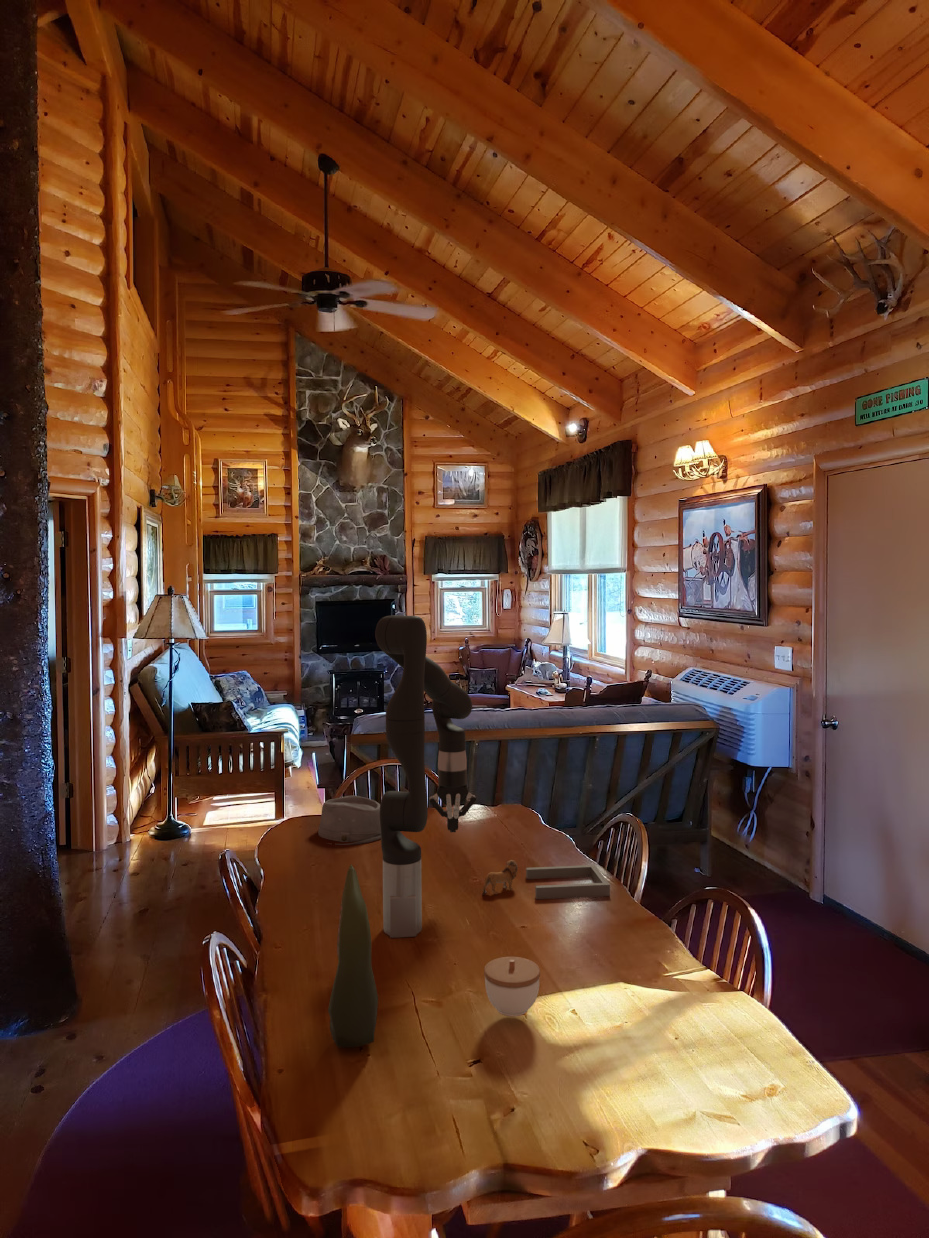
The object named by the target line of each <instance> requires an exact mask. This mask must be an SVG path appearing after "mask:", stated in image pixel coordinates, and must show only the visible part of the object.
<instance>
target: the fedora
mask: <svg viewBox="0 0 929 1238" xmlns="http://www.w3.org/2000/svg"><path fill="white" fill-rule="evenodd" d="M317 833H318V836H319V837H321V838H323V839H326V840H329V841H335V842H336V841H337V842H339V843H336V845H341V846H348V845H349V846H351V845H352V846H353V845H361V844H367V843H372V842H375V841H379V840H381V828H380V803H379V802H377V801H376V800H374V799H371V798H368V797H364V796H360V795H346V796H342V797H336V798H331V799H328V800H326V801H325V802H323V805H322V806H321V815H320V823H319V826H318V831H317ZM327 844H328V845H329V844H330V845H331V843H329V842H328V843H327Z"/></svg>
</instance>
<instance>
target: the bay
mask: <svg viewBox="0 0 929 1238" xmlns="http://www.w3.org/2000/svg"><path fill="white" fill-rule="evenodd" d="M525 869H526V870H525V875H526V876H525V877H526V880H537V879H538V880H541V879H542V880H543V879H559V878H581V877H583V878H584V877H590V878H591V879H592V880H593V882H594V883H593V882H592V883H590V882H589V883H587V882H586V883H570V884H568V883H567V884H566V883H565V884H549V885H548V884H546V885H545V884H544V885H535V891H534V893H535V895H534V896H535V899H536V900H551V899H570V898H571V899H572V898H573V899H574V898H575V899H576V898H592V897H593V898H594V897H610V896H611V884H610V883H609V882H608V880H607V879H606V878H605V876H604V875H603V874H602V872H601V871H600V870H599V868H598V867H597V866H596V864H585V865H565V866H564V865H562V866H561V865H560V866H541V867H540V866H537V867H536V866H535V867H526V868H525Z"/></svg>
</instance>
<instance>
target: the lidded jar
mask: <svg viewBox="0 0 929 1238" xmlns="http://www.w3.org/2000/svg"><path fill="white" fill-rule="evenodd" d="M483 968H484V970H483V972H484V986H485V991H486V995H487V999H488V1000H489V1003H490V1004H491V1006H493V1008H495V1009H496V1011H497V1012H498V1014H501V1015H502V1016H505V1017H511V1018H514V1017H520V1016H523V1015H526V1013H527V1012H528V1010H530V1009H531V1007H532V1006H533V1005H534V1003H536V1000H537V998H538V995H539V989H540V977H541V969H540V967H539V965H538V964H536V962H534V961H533V960H531V959H528V958H524V957H520V956H502V957H498V958H494V959H492V960H491V961H489V962H487V963H486V965H485V966H484V967H483Z"/></svg>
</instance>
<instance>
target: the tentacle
mask: <svg viewBox="0 0 929 1238" xmlns="http://www.w3.org/2000/svg"><path fill="white" fill-rule="evenodd" d="M337 930H338V931H337V942H336V946H337V947H336V954H337V960H338V961H337V962H338V963H337V967H336V971H335V976H334V979H333V985H332V988H331V994H330V999H329V1004H328V1008H327V1013H328V1015H329V1018H330V1019H329V1030H330V1034H331V1038H332V1040H333V1042H334V1044H335V1045H336V1047H337V1048H357V1047H361V1046H364V1045H367V1044H370V1043H374V1040H375V1032H376V1031H375V1030H376V1025H377V1016H378V1005H379V996H378V995H379V994H378V990H377V985H376V981H375V976H374V972H373V967H372V934H371V926H370V921H369V915H368V908H367V904H366V900H364V897H363V894H362V890H361V885H360V882H359V877H358V873H357V871H356V869H355V868H354V867H353V865H352V864H350V866H349V867H348V870H347V872H346V876H345V882H344V888H343V891H342V897H341V903H340V910H339V921H338V929H337Z"/></svg>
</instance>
